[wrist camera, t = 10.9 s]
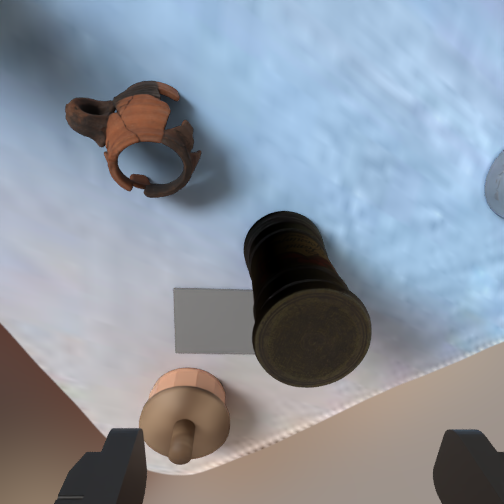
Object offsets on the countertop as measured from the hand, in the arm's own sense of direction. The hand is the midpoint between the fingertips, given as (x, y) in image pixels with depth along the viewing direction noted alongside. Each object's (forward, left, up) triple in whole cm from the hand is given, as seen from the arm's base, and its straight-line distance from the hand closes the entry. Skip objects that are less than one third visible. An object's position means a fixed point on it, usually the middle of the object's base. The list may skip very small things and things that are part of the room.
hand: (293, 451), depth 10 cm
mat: (+3, +16, -32) cm, 36 cm away
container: (-4, +6, -32) cm, 33 cm away
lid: (+7, +28, -28) cm, 40 cm away
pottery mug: (+11, -5, -32) cm, 34 cm away
